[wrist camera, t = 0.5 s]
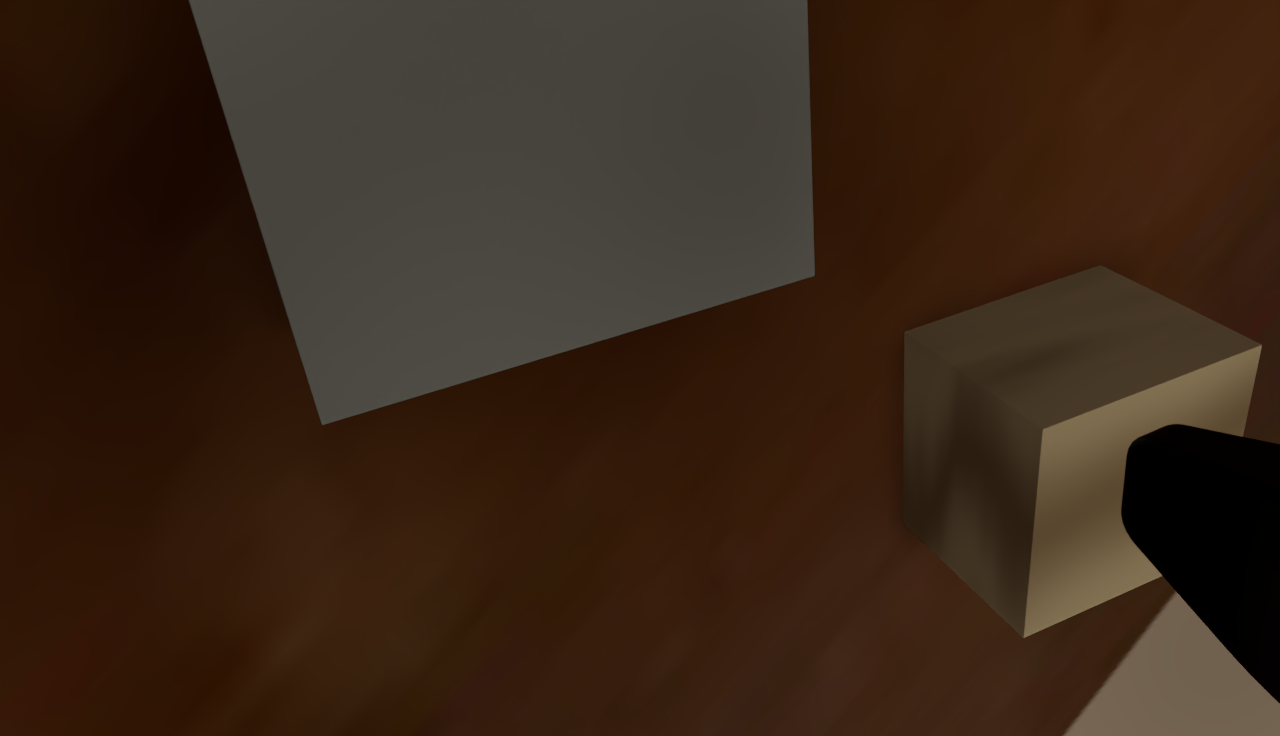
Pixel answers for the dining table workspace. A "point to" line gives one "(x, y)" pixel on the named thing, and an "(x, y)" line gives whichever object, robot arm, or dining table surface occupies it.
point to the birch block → (1054, 433)
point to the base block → (510, 173)
